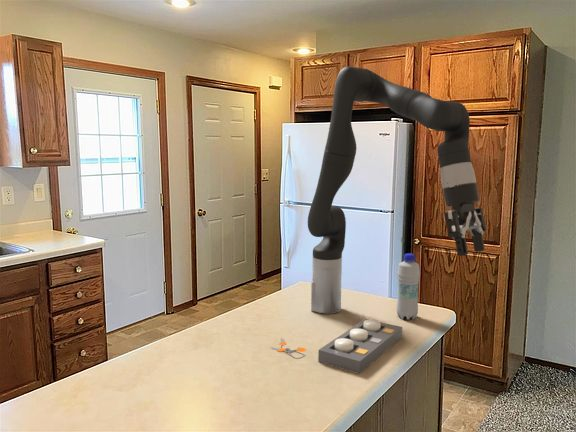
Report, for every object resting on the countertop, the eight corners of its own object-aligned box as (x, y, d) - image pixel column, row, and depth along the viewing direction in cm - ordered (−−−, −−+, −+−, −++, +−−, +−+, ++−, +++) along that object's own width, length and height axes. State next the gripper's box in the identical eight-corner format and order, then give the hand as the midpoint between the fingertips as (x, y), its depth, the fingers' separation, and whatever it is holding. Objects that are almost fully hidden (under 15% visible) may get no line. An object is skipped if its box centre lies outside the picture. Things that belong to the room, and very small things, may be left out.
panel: (359, 373, 110) (359, 360, 110) (318, 361, 116) (318, 349, 116) (401, 337, 131) (402, 326, 131) (365, 328, 138) (365, 318, 137)
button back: (376, 334, 128) (376, 327, 127) (360, 330, 130) (360, 323, 130) (383, 329, 131) (383, 322, 131) (367, 325, 134) (367, 318, 134)
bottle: (416, 313, 150) (418, 251, 147) (420, 321, 143) (422, 256, 141) (394, 313, 151) (396, 250, 148) (397, 320, 144) (399, 255, 141)
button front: (348, 355, 115) (348, 347, 114) (331, 350, 117) (331, 342, 117) (356, 348, 118) (356, 341, 118) (340, 344, 121) (340, 336, 121)
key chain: (315, 353, 122) (315, 350, 122) (294, 362, 117) (294, 358, 117) (283, 338, 131) (283, 335, 131) (261, 345, 127) (261, 342, 126)
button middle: (362, 344, 121) (362, 336, 121) (346, 340, 124) (346, 332, 123) (370, 338, 125) (370, 331, 125) (354, 334, 127) (354, 327, 127)
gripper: (458, 187, 120) (470, 251, 118) (429, 188, 110) (441, 258, 108) (487, 180, 114) (500, 248, 113) (459, 181, 104) (473, 255, 103)
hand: (471, 253), depth 111 cm, fingers open, 8 cm apart
